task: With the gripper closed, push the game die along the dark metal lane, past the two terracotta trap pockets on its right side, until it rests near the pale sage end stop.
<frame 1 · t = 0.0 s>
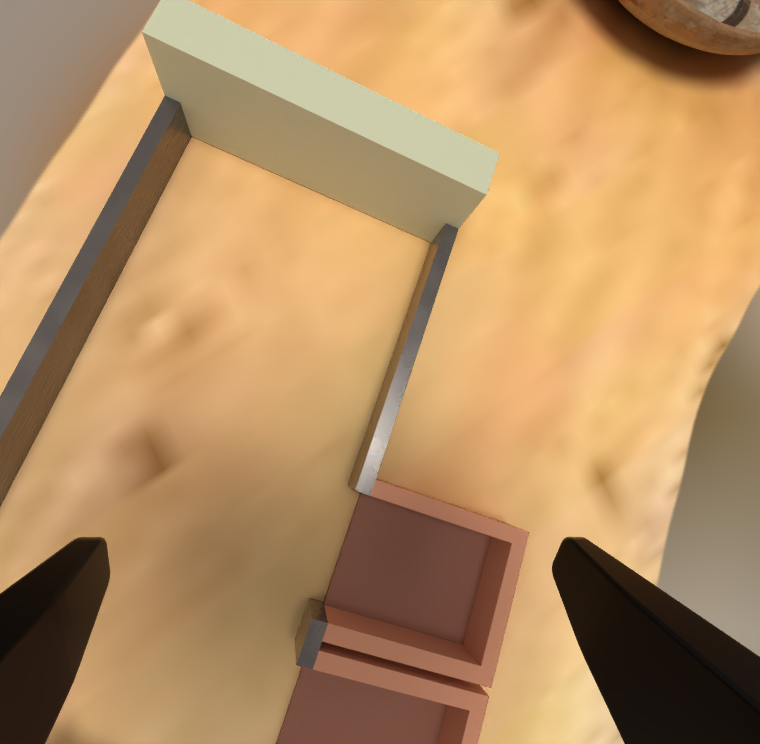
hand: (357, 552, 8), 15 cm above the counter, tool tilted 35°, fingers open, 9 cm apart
trap pockets: (401, 656, 21), on the counter
lane rails: (144, 598, 20), on the counter
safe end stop: (328, 141, 22), on the counter
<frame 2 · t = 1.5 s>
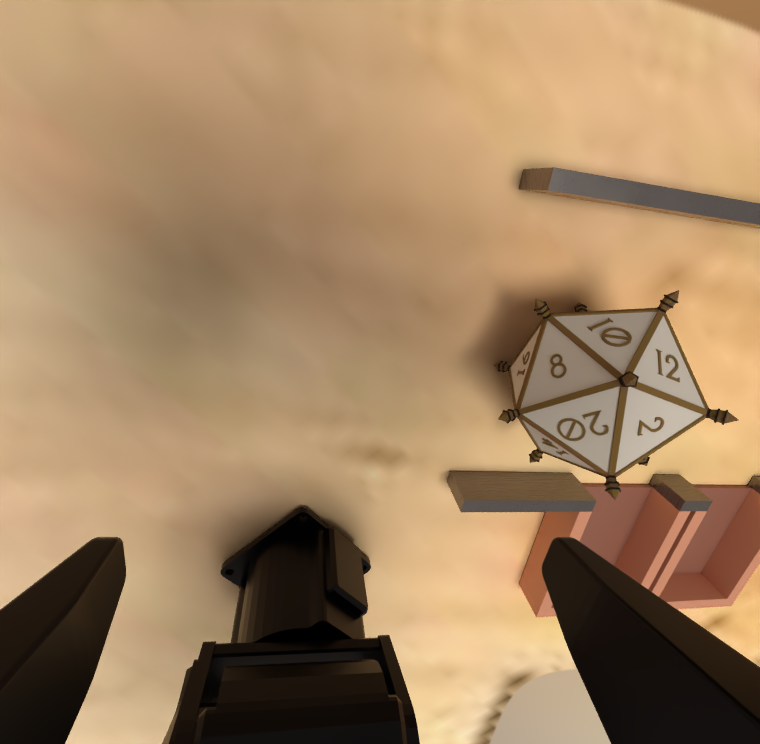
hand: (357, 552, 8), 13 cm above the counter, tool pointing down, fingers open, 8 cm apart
trap pockets: (650, 549, 28), on the counter
lane rails: (705, 367, 24), on the counter
game die: (546, 353, 22), on the counter
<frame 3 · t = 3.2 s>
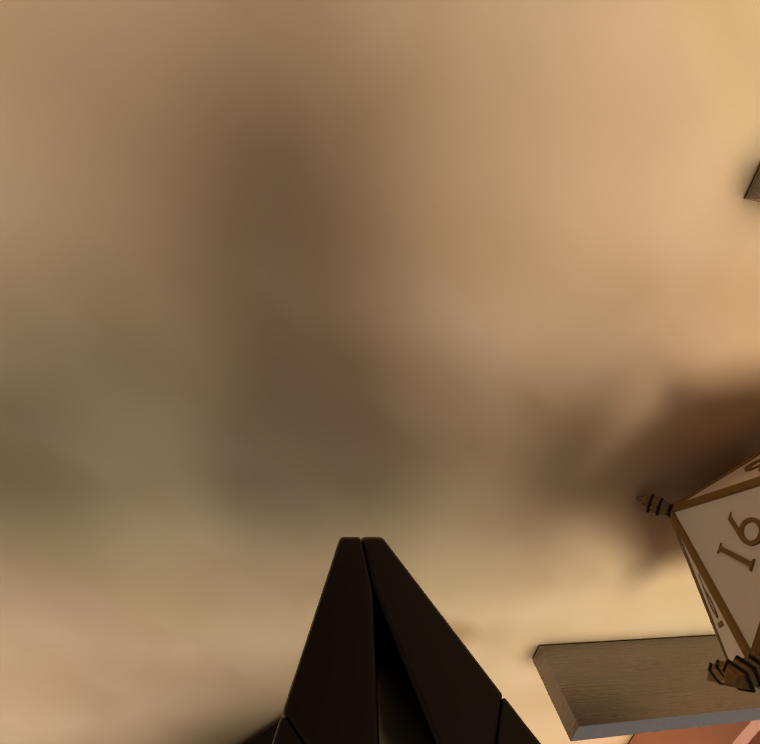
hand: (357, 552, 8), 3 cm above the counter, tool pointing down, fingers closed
game die: (719, 474, 13), on the counter
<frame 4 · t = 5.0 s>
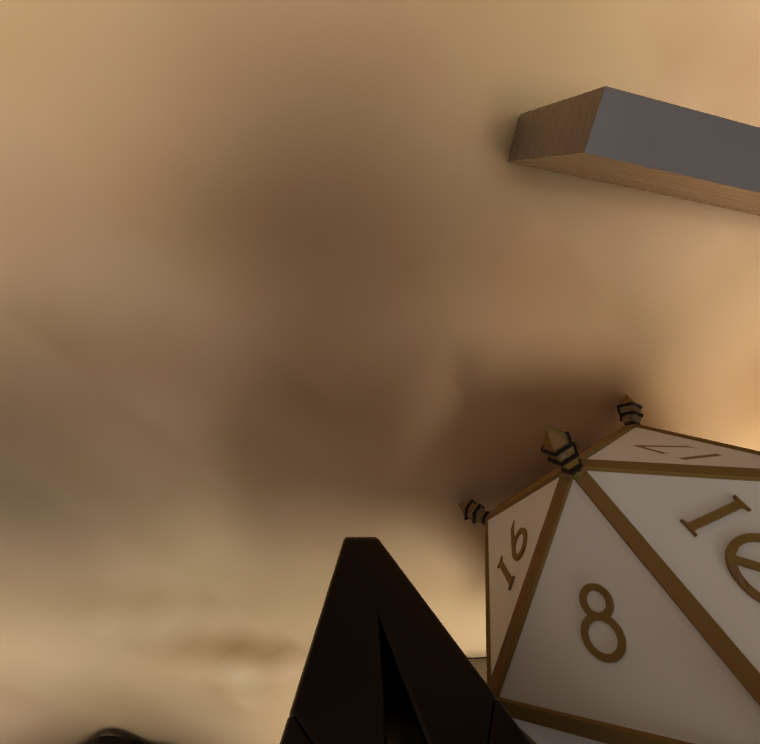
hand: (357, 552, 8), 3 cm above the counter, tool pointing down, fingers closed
game die: (557, 479, 12), on the counter, touching gripper
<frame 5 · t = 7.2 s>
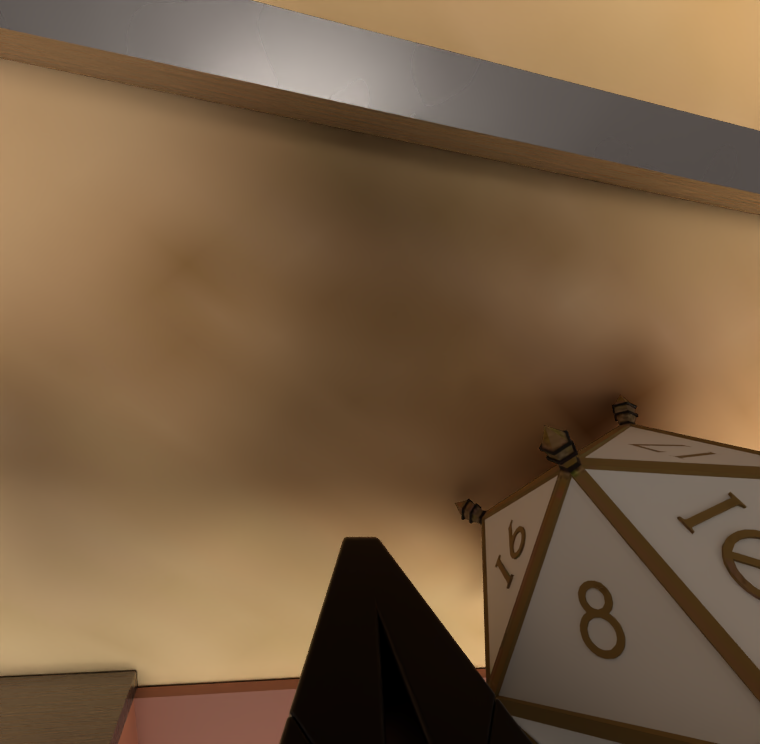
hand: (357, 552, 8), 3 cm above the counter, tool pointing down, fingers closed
lane rails: (369, 473, 11), on the counter
game die: (553, 479, 12), on the counter, touching gripper
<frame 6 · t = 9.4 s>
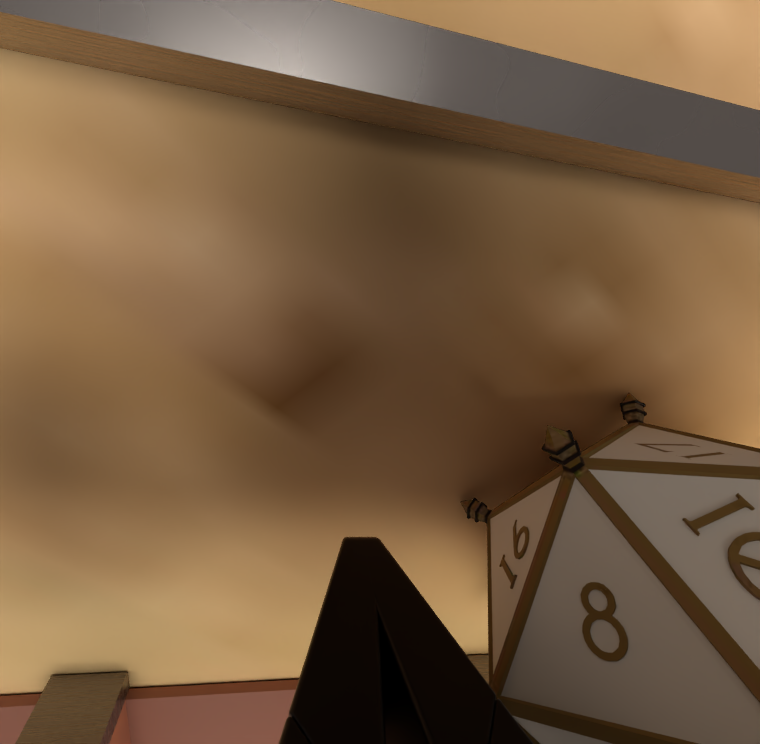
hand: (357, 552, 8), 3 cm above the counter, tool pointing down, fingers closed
game die: (560, 477, 12), on the counter, touching gripper
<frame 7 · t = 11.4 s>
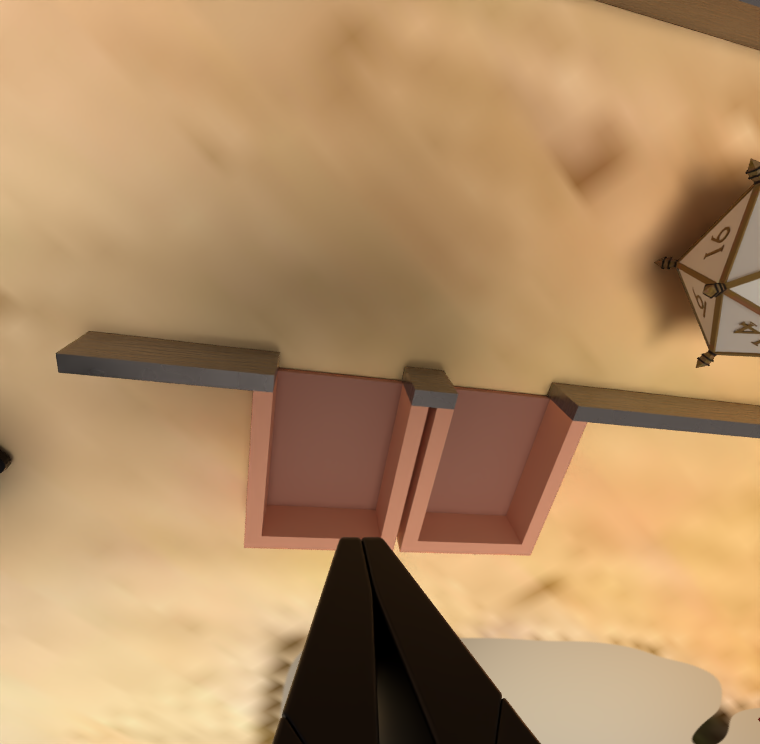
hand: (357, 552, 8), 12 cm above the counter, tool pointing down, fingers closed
trap pockets: (408, 469, 22), on the counter
lane rails: (440, 201, 18), on the counter
game die: (709, 255, 20), on the counter
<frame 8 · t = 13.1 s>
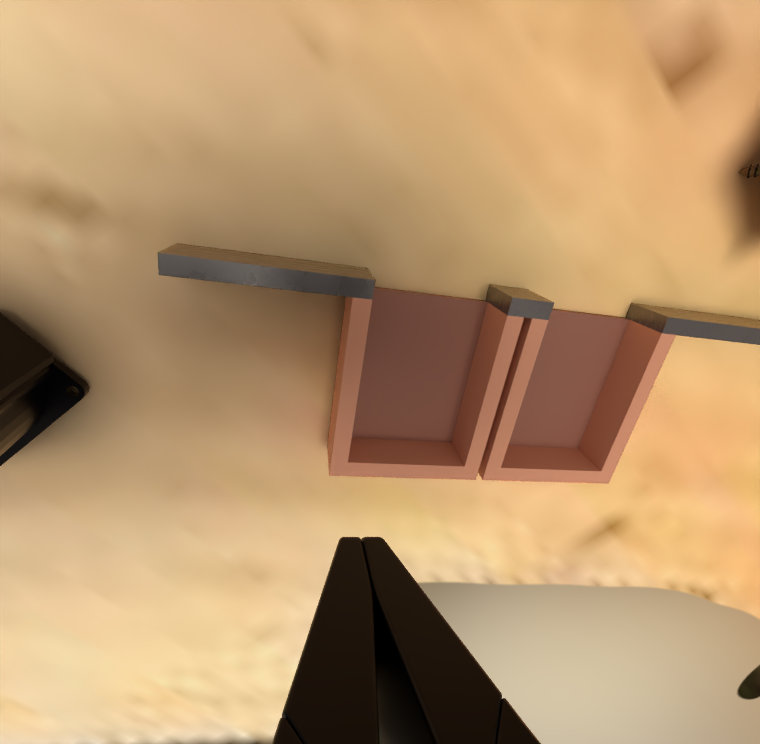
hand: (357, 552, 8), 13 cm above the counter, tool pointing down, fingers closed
trap pockets: (491, 393, 21), on the counter
lane rails: (536, 101, 17), on the counter
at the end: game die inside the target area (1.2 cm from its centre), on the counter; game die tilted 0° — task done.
